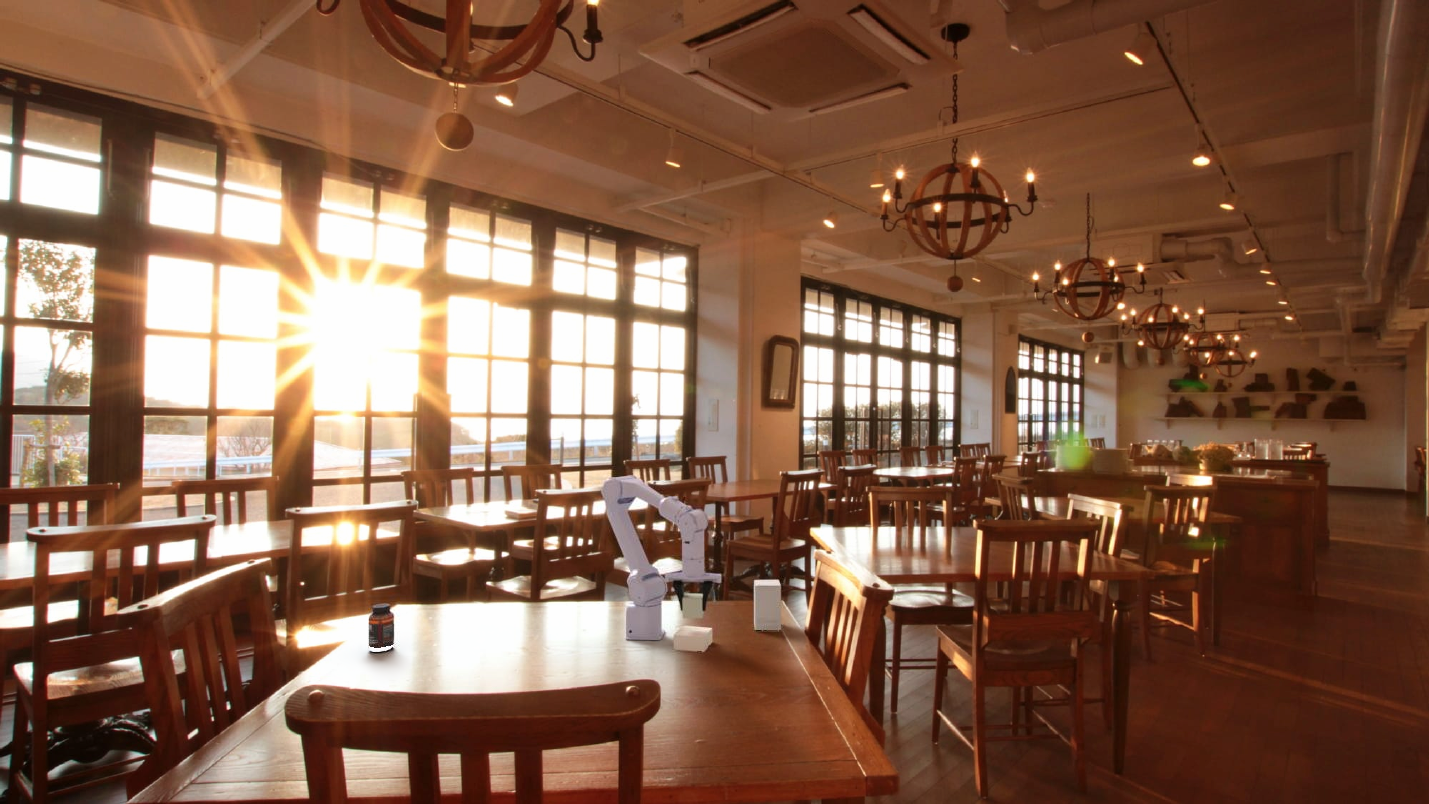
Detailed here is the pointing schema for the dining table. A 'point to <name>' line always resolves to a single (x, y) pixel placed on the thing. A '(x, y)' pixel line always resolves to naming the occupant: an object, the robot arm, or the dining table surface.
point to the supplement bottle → (381, 626)
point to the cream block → (692, 638)
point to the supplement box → (767, 605)
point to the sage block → (692, 605)
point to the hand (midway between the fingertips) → (693, 610)
